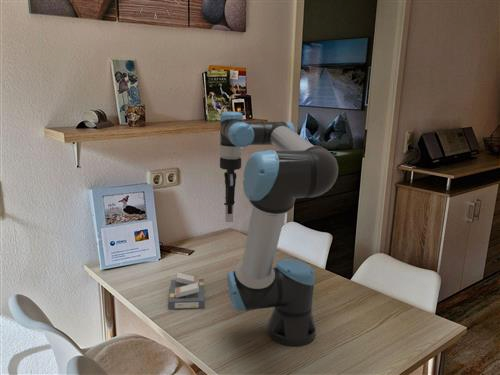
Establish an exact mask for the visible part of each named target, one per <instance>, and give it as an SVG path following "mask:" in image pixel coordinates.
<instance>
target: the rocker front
mask: <svg viewBox="0 0 500 375" xmlns="http://www.w3.org/2000/svg"><path fill="white" fill-rule="evenodd" d="M197 292H199V285H198V282H197V283H193V284H190V285H186V286H182V287H178V288H175V296H176V298H178V297H182V296H185V295H189V294H193V293H197Z"/></svg>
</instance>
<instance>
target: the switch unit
mask: <svg viewBox="0 0 500 375" xmlns="http://www.w3.org/2000/svg"><path fill="white" fill-rule="evenodd" d="M204 279H205V278H199V283H198V285H199V292H197V293H193V294H189V295H185V296H182V297H178V298H176V296H175V288H178V287H182V286H186V285H189V284H185V283H181V282H176V279H171V280H170V287H169V288H170V289H169V296H168V297H169V298H168V310H169V311H170V310H193V309H194V310H195V309H196V310H197V309H204V310H205V307H206V305H205V303H206V301H205V280H204Z"/></svg>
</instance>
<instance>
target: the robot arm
mask: <svg viewBox="0 0 500 375" xmlns="http://www.w3.org/2000/svg"><path fill="white" fill-rule="evenodd" d="M219 124H220V129H219V130H220V136H219V137H220V140H219V156H220V157H219V168H220V169H222V170H226V172H224V173H223V174H224V175H223V177H224V186H225V195H224V196H225V197H224V199H225V201H224V203H223V204H224V206H225V211H224V212H225V214H224V216H225V218H224V220H225V223H234V205H235V203H236V201H235V194H236V192H235V191H236V182H237V181H236V180H237V173H236V172H235V171H236V170H240V169H241V168H242V158H241V157H242V151H244V148H246V147H248V146H273V147H274V148H275V149H276V150H273V149H268V150H263V151H255V152H254V153H251V155H250V156H249V157H248V159H247V161H246V163H245V165H244V166H245V167H244V171H243V180H242V186H243V191H244V192H243V194H244V195H245V197H246V198H247V199H248V202H249V203H250V205H251V206H252V207H251V212H250V219H249V224H248V230H247V234H246V235H247V236H246V240H245V244H244V250H243V255H242V259H241V260H240V261H239V262H237V265H236V267H235V269H234V270H231V271H228V272H227V276H226V281H227V289H228V290H227V291H228V294H229V299H230V304H231V306H232V308H233V309H234V311H237V312H241V311H244V312H248V311H254V310H262V309H269V308H273V310H272V313H271V315H270V316H269V320H268V322H267V334H268V336H269V337H270V338H271V339H272V340H273V341H275V342H277V343H279V344H281V345H286V346H290V347H299V346H305V345H308V344H310V343H311V342H313V341H314V339H315V338H316V333H317V325H316V323H315V318H314V315H313V312H312V311H313V302H314V299H313V298H314V290H315V282H316V281H315V271H314V268H312V267H311V266H310V265H309V264H308V263H306V262H304V261H301V260H297V259H293V258H283V259H280V260H277V262H276V265H275V267H273V265H274V262H275V256H276V253H277V248H278V245H279V240H280V236H281V233H282V228H283V224H284V221H285V217H286V214H287V213H289V212H290V211H291V210H292V209H293V208H294V205H295V202H296V199H305V198H307V199H308V198H315V197H319V196H321V195H324V194H325V193H326V192H328V191H329V190H331V189H332V187H333V186H334V184H335V183H336V181H337V178H338V175H339V165H338V160H337V159H336V157H335V156H334V154H332V153H331V151H329V150H328V149H326V148H325V147H324V146H320V145H313V143H311V142H309V141H308V140H307V139H306V138H304V137H302V135H299V134H298V133H296V127H295V125H294V123H293V122H291V121H283V120H282V121H281V120H280V121H244V116H243V113H241V112H238V111H223V112H222V113H221V114H220V121H219ZM312 340H313V341H312Z"/></svg>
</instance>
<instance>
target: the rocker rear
mask: <svg viewBox="0 0 500 375" xmlns="http://www.w3.org/2000/svg"><path fill="white" fill-rule="evenodd" d="M199 279H200V278H199V277H198V276H194V275H191V274H190V275H189V274H186V273H181V272H177V273H176V276H175V280H176V282H181V283H185V284H189V285H190V284H193V283H197V282H198V283H199Z"/></svg>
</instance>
